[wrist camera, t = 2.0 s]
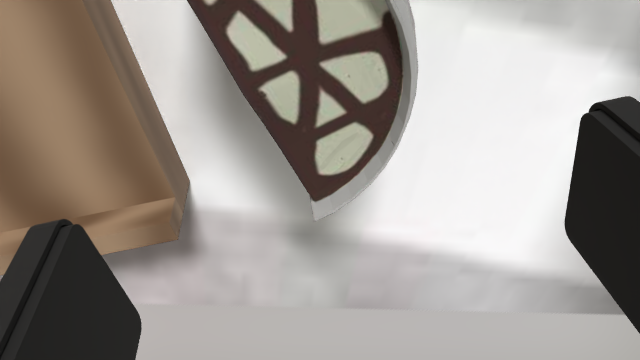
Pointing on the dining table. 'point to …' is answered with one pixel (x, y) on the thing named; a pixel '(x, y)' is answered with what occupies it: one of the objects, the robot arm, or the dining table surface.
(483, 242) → the dining table surface
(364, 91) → the food container
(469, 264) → the dining table surface
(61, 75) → the low wooden shelf
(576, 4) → the dining table surface
